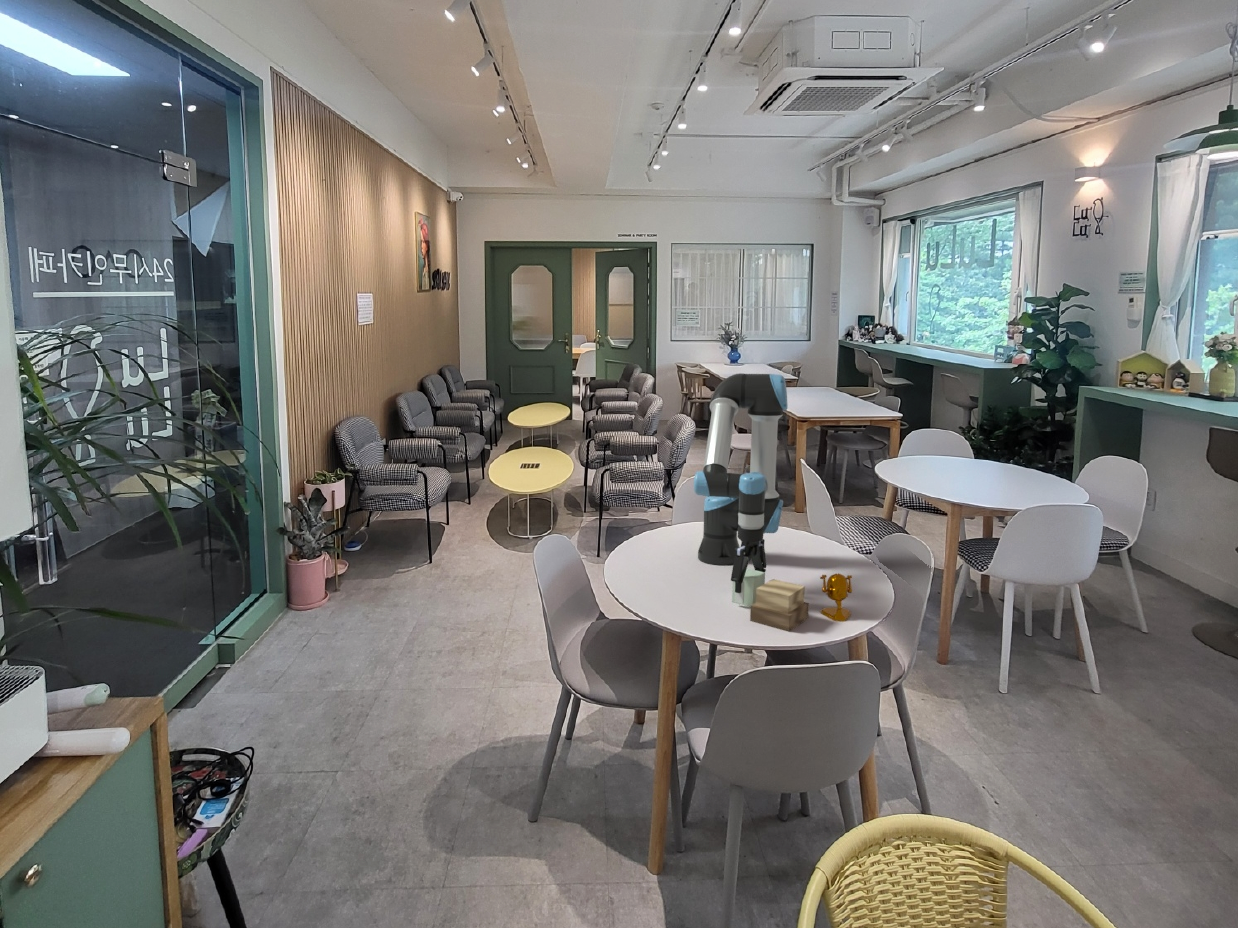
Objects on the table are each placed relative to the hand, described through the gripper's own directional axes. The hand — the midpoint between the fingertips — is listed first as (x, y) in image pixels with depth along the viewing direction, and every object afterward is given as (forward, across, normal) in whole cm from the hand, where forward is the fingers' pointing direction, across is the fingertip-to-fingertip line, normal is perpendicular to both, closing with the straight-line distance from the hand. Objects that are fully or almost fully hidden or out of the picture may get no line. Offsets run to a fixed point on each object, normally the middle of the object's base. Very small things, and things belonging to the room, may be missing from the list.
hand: (748, 597), depth 245 cm
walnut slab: (+2, +7, +14) cm, 16 cm away
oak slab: (-3, +7, +14) cm, 16 cm away
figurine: (+2, -7, +25) cm, 26 cm away
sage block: (+1, 0, 0) cm, 1 cm away
